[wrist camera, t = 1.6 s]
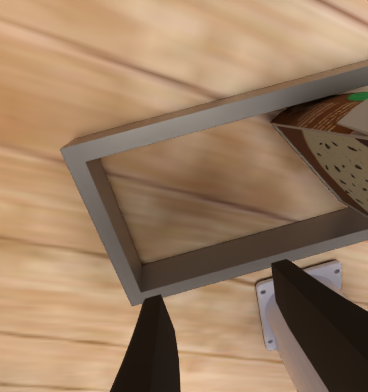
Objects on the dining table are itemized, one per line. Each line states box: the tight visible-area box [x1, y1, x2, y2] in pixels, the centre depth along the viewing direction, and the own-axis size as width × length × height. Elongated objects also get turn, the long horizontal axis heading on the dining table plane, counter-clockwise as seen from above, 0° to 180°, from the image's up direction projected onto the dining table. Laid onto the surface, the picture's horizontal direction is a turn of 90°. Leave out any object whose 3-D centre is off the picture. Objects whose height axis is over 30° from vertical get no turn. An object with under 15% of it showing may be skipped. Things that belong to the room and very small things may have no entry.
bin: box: [60, 60, 368, 306], centre depth 17 cm, size 12×24×3 cm, turn 104°
